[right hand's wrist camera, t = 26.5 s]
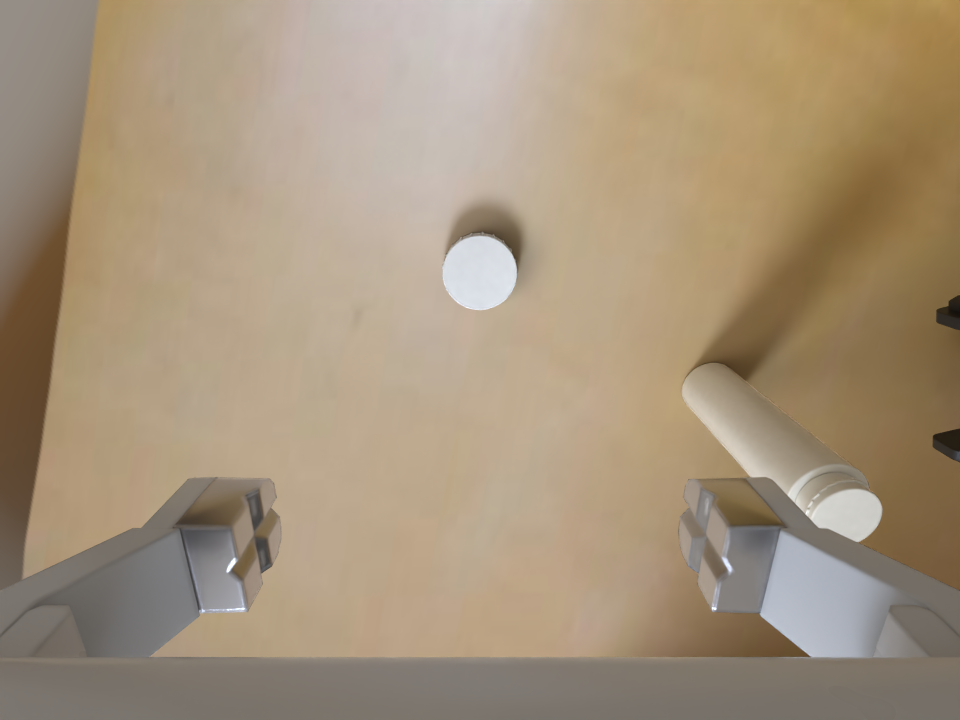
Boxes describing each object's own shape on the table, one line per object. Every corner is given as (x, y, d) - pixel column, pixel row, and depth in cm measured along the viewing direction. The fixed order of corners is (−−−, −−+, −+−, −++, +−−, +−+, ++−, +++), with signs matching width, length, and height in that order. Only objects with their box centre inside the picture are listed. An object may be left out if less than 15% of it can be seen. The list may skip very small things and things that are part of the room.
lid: (492, 317, 36) (493, 324, 35) (429, 282, 35) (427, 287, 34) (530, 255, 35) (532, 259, 33) (465, 217, 34) (465, 219, 32)
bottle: (695, 355, 37) (830, 471, 23) (746, 371, 38) (909, 494, 23) (672, 404, 38) (786, 542, 24) (721, 418, 39) (862, 562, 25)
